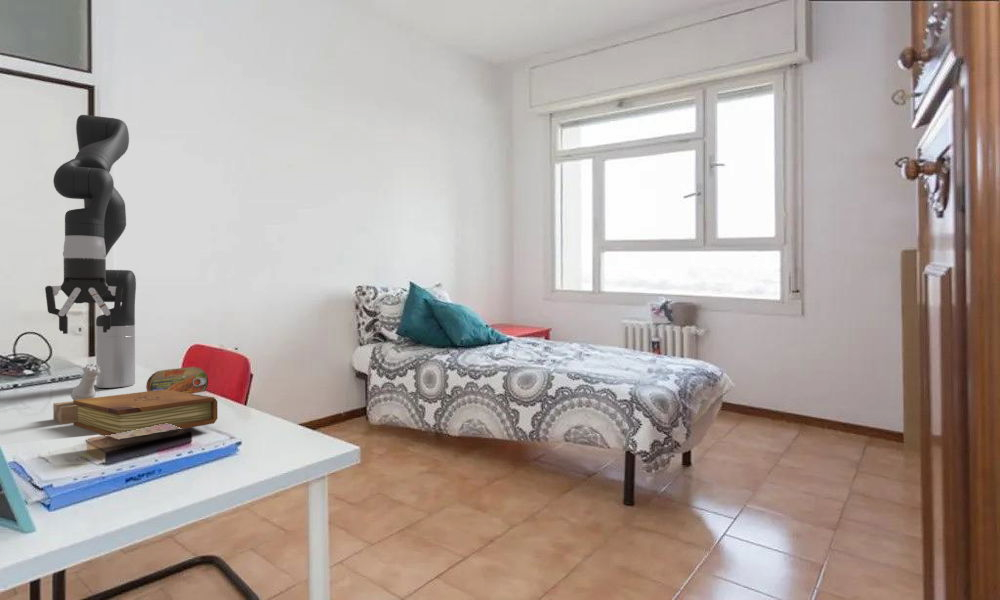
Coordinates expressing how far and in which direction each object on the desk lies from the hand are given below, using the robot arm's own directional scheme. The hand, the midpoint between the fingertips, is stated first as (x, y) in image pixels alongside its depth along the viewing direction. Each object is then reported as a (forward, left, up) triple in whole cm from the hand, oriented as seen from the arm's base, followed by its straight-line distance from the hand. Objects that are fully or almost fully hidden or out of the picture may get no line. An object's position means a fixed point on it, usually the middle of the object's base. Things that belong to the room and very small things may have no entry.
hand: (85, 332), depth 125 cm
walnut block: (-1, -1, -20) cm, 20 cm away
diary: (+13, +11, -20) cm, 26 cm away
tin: (-19, +19, -19) cm, 33 cm away
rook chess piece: (-1, -1, -15) cm, 15 cm away
